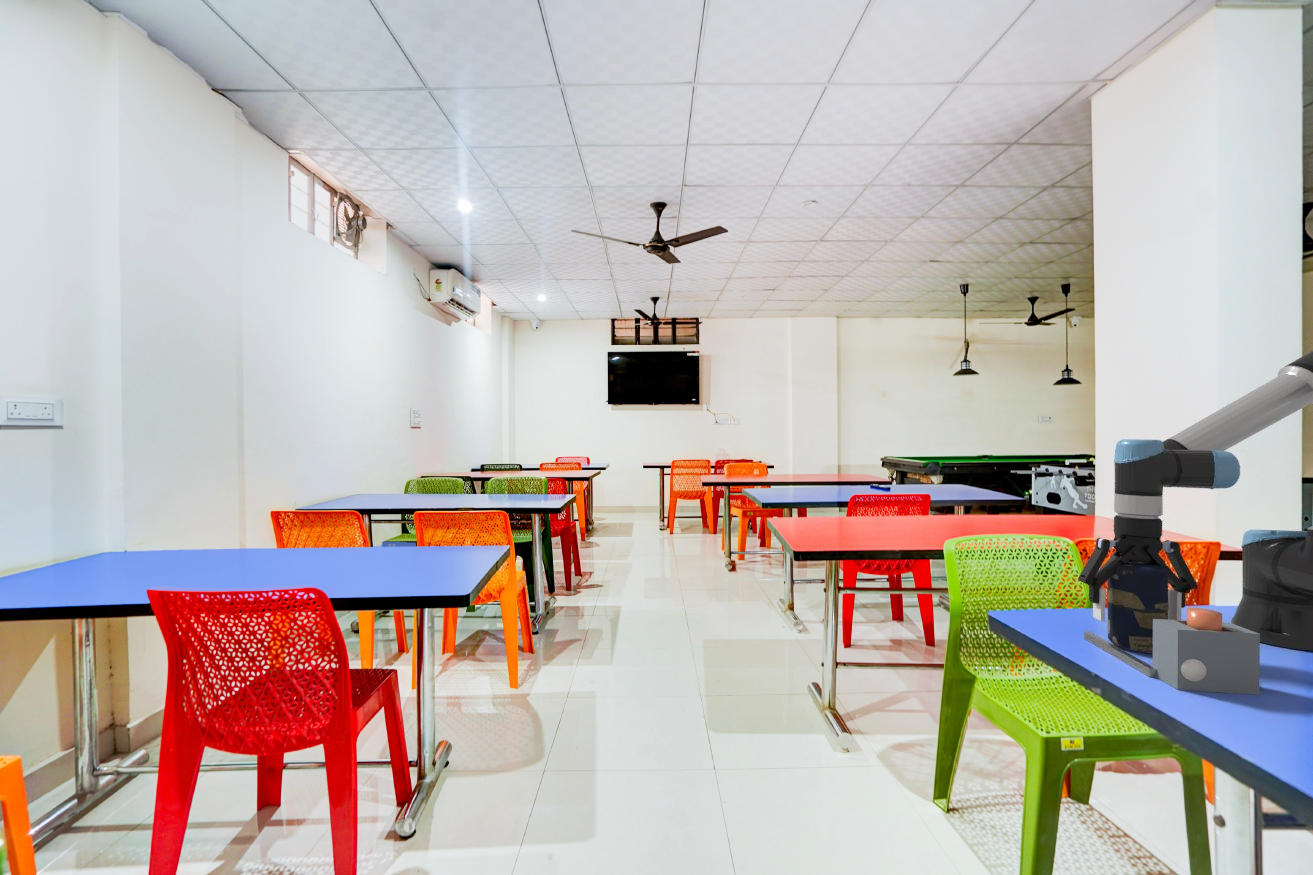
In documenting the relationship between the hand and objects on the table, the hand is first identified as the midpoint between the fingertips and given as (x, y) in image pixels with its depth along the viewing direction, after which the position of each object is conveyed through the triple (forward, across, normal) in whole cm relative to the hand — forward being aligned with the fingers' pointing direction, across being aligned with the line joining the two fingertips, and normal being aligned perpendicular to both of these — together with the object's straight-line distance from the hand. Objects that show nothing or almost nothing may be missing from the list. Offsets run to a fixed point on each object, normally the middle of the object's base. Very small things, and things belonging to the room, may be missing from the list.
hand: (1136, 621), depth 117 cm
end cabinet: (+5, 0, +18) cm, 19 cm away
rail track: (+5, 0, +6) cm, 8 cm away
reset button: (-3, 0, +18) cm, 18 cm away
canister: (+6, 0, 0) cm, 6 cm away
